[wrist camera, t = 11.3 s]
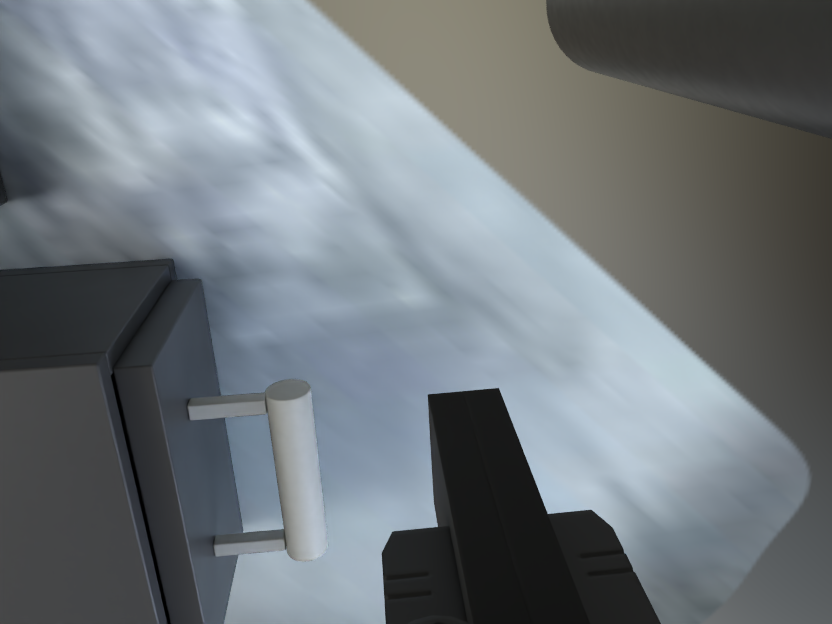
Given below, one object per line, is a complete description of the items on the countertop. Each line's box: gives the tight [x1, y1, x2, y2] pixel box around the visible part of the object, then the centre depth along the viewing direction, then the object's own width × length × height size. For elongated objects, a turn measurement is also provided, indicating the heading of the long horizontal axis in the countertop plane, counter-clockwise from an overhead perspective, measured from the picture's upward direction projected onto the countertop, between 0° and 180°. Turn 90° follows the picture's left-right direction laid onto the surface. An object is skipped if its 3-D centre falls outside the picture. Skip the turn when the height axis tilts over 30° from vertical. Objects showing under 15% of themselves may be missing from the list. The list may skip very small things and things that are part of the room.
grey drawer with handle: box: [111, 279, 328, 624], centre depth 28 cm, size 19×12×8 cm, turn 92°
